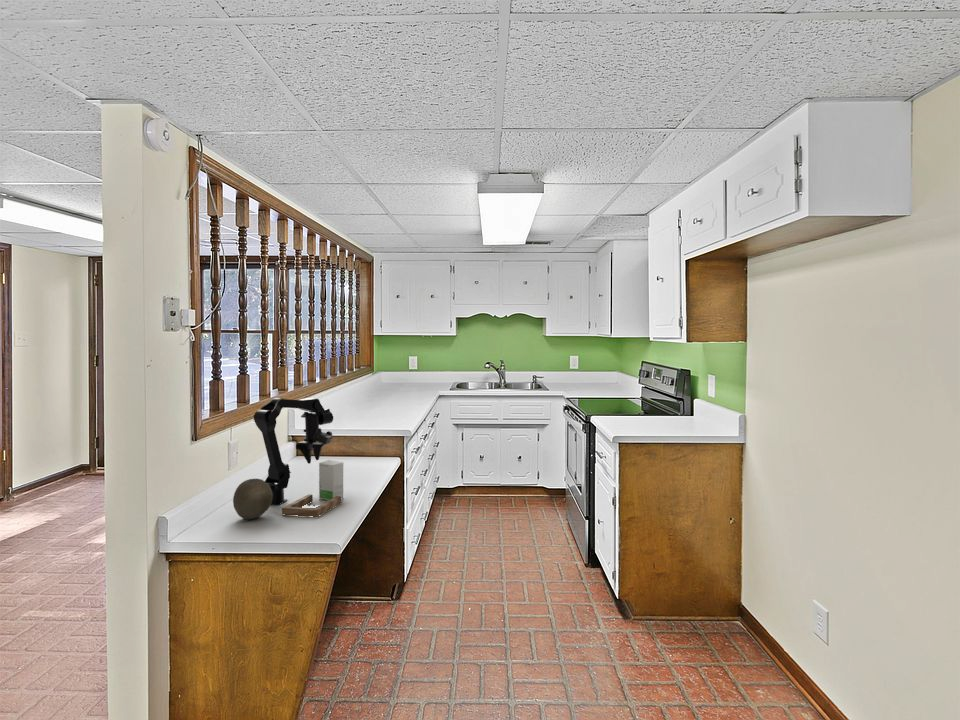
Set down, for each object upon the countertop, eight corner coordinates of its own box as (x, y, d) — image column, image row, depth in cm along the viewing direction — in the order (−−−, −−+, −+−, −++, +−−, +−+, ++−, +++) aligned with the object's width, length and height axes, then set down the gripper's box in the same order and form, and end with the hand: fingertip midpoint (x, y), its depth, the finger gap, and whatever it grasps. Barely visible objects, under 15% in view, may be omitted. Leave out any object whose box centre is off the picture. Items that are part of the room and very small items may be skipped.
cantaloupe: (231, 526, 224) (230, 485, 223) (235, 515, 237) (234, 476, 236) (272, 522, 227) (271, 482, 227) (274, 511, 241) (272, 473, 240)
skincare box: (318, 499, 257) (317, 462, 256) (329, 495, 263) (328, 459, 262) (334, 501, 253) (333, 464, 253) (344, 497, 259) (343, 461, 258)
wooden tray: (317, 517, 232) (316, 510, 231) (281, 515, 235) (281, 507, 235) (341, 503, 250) (341, 496, 250) (308, 501, 254) (308, 494, 254)
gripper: (317, 430, 259) (319, 467, 260) (338, 423, 277) (339, 458, 278) (294, 430, 262) (295, 466, 262) (316, 423, 280) (317, 457, 281)
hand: (313, 461), depth 271 cm, fingers open, 7 cm apart
